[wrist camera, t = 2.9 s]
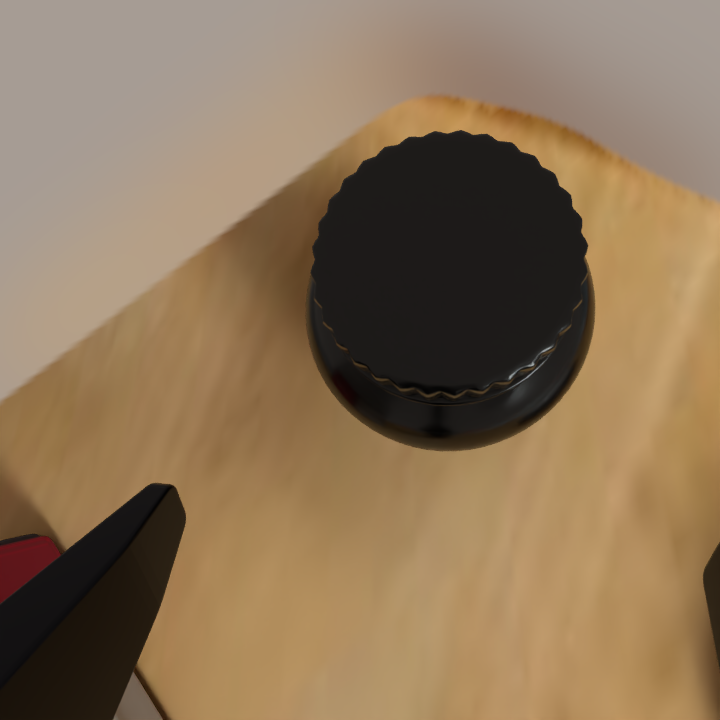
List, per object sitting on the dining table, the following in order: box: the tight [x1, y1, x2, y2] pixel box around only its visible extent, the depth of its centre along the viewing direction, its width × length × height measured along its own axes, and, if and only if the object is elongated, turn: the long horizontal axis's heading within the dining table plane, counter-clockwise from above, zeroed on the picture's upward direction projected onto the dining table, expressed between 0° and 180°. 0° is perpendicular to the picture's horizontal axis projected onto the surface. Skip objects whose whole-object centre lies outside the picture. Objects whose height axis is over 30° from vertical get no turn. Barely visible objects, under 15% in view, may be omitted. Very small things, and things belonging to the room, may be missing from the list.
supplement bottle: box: [306, 130, 595, 451], centre depth 15 cm, size 7×7×12 cm
